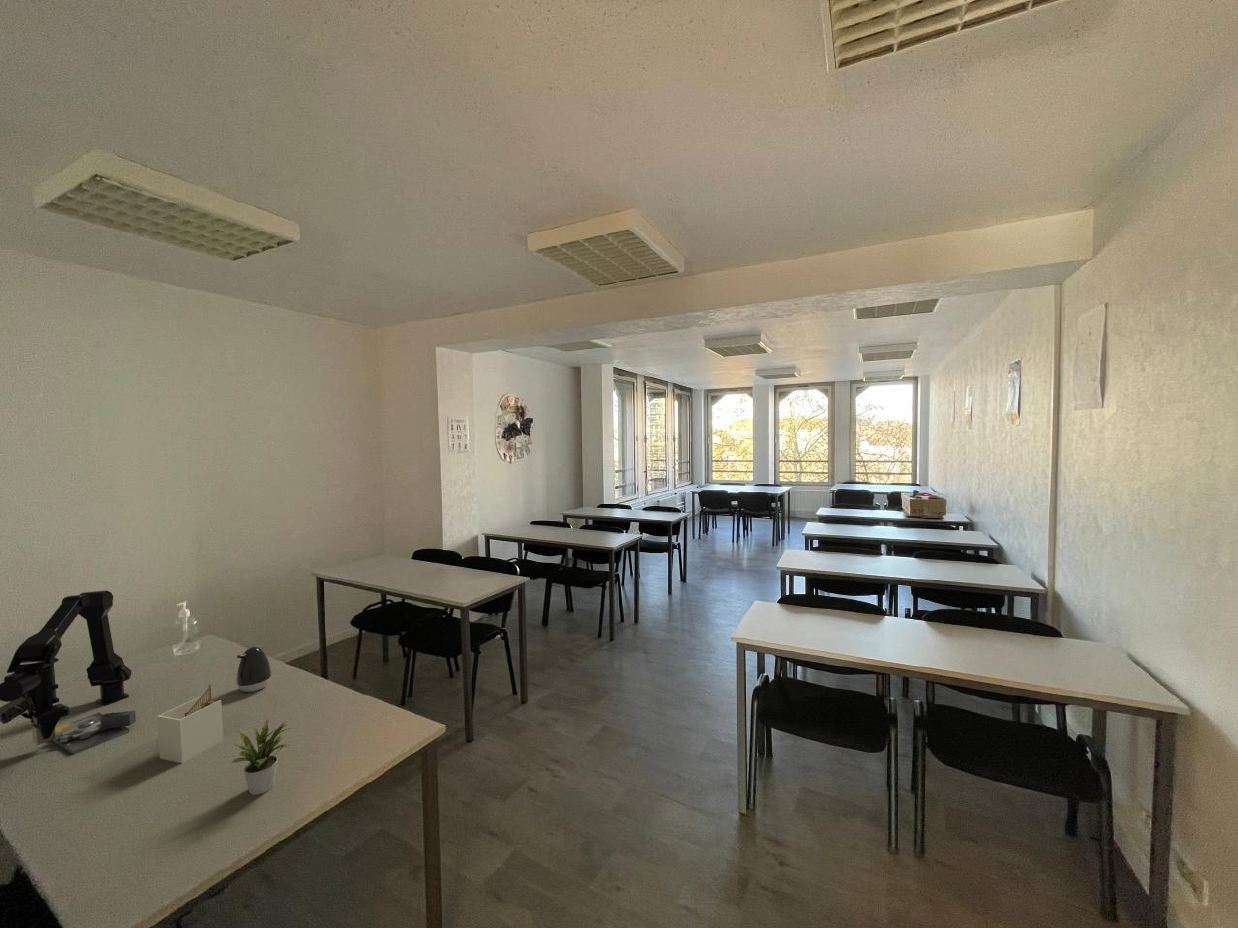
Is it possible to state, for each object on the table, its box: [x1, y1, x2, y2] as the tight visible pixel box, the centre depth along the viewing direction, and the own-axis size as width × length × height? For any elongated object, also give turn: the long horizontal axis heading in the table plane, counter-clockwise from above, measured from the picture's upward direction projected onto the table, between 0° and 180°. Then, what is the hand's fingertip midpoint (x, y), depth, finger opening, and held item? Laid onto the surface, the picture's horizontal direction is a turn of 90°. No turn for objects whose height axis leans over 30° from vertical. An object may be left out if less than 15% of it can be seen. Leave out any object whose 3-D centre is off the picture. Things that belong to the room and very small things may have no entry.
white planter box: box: [156, 684, 224, 764], centre depth 141 cm, size 9×11×17 cm
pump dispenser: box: [235, 646, 273, 693], centre depth 175 cm, size 10×10×15 cm
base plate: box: [51, 712, 130, 755], centre depth 150 cm, size 22×12×1 cm, turn 64°
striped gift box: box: [31, 724, 56, 746], centre depth 142 cm, size 4×4×5 cm
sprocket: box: [55, 710, 137, 742], centre depth 150 cm, size 18×12×4 cm
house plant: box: [229, 717, 293, 796], centre depth 124 cm, size 14×14×16 cm
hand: (44, 736), depth 142 cm, fingers closed on striped gift box, 3 cm apart
